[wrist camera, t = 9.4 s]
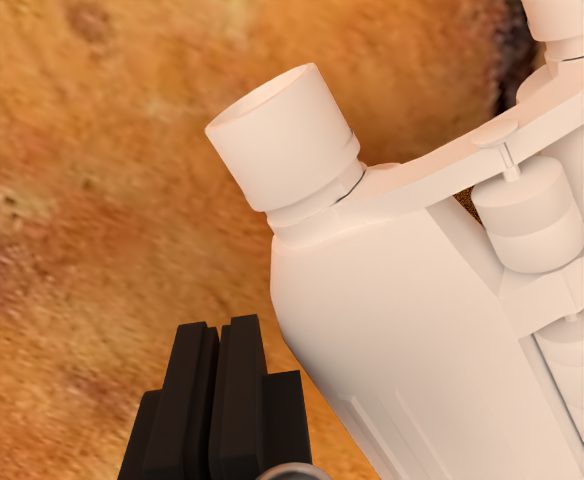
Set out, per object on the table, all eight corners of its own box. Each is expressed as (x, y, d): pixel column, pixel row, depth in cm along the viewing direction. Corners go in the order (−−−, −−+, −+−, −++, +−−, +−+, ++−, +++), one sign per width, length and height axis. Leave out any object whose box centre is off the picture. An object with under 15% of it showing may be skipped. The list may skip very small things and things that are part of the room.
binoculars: (451, 554, 18) (512, 729, 13) (166, 135, 12) (112, 211, 7) (774, 419, 16) (960, 570, 12) (631, -148, 10) (902, -259, 6)
